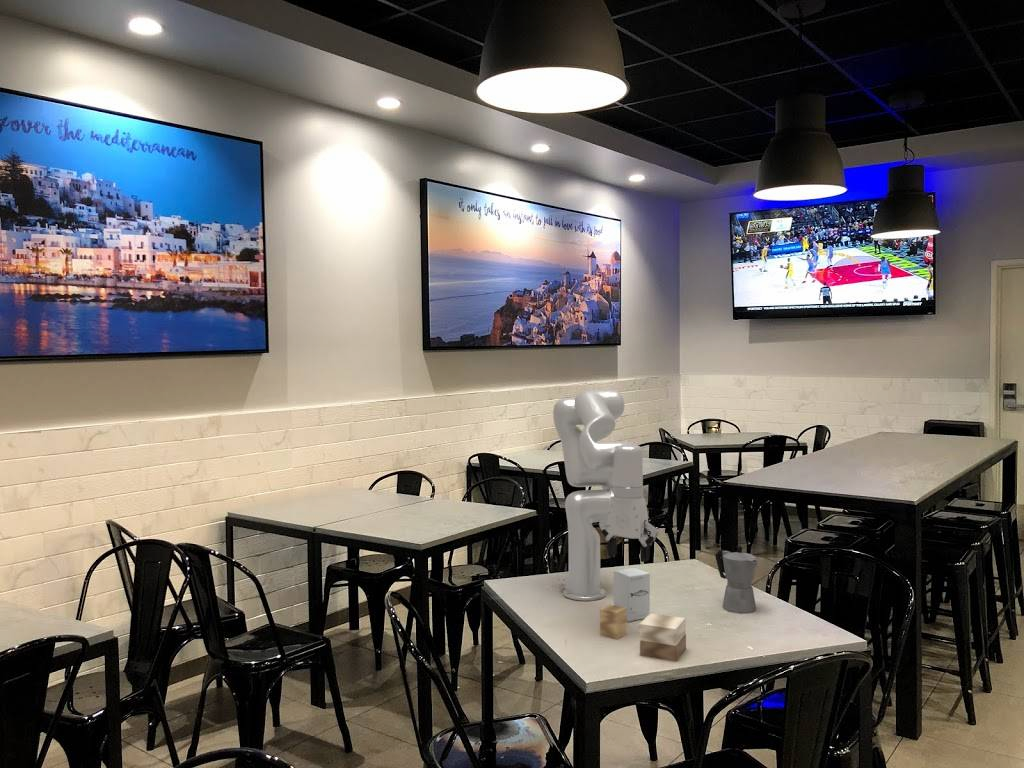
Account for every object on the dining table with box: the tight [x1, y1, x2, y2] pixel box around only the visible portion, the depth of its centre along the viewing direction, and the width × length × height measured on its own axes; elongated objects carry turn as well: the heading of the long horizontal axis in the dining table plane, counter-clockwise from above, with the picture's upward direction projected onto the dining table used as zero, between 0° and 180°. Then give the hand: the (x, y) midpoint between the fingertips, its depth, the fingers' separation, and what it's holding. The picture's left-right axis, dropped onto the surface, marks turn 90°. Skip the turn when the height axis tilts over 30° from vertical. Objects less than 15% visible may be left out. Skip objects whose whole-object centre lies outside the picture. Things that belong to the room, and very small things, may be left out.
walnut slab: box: [639, 633, 687, 662], centre depth 204 cm, size 9×9×4 cm
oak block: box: [599, 603, 628, 640], centre depth 217 cm, size 5×5×7 cm
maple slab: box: [638, 612, 687, 646], centre depth 204 cm, size 9×9×4 cm
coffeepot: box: [714, 545, 760, 614], centre depth 239 cm, size 15×9×18 cm, turn 33°
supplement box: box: [613, 567, 651, 623], centre depth 231 cm, size 7×7×13 cm
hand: (628, 558), depth 217 cm, fingers open, 9 cm apart
